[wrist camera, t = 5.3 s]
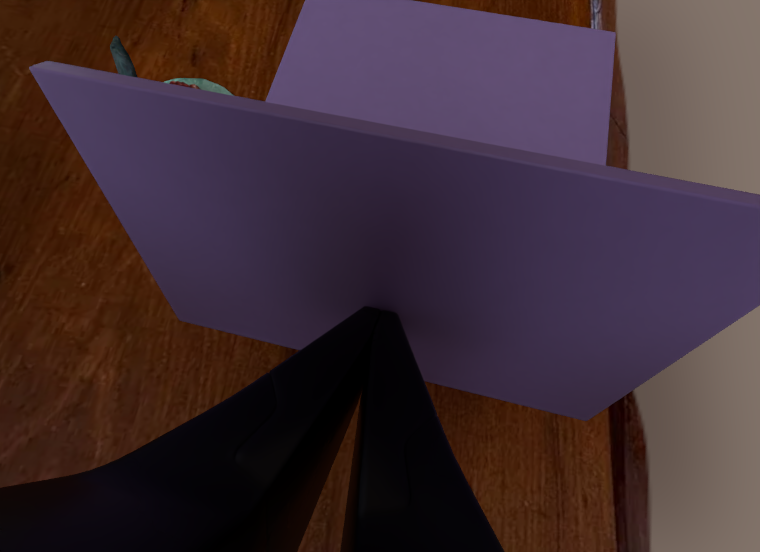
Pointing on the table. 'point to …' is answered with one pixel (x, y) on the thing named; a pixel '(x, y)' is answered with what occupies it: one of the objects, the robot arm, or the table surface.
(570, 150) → the file box
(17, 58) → the table surface
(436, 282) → the flap
